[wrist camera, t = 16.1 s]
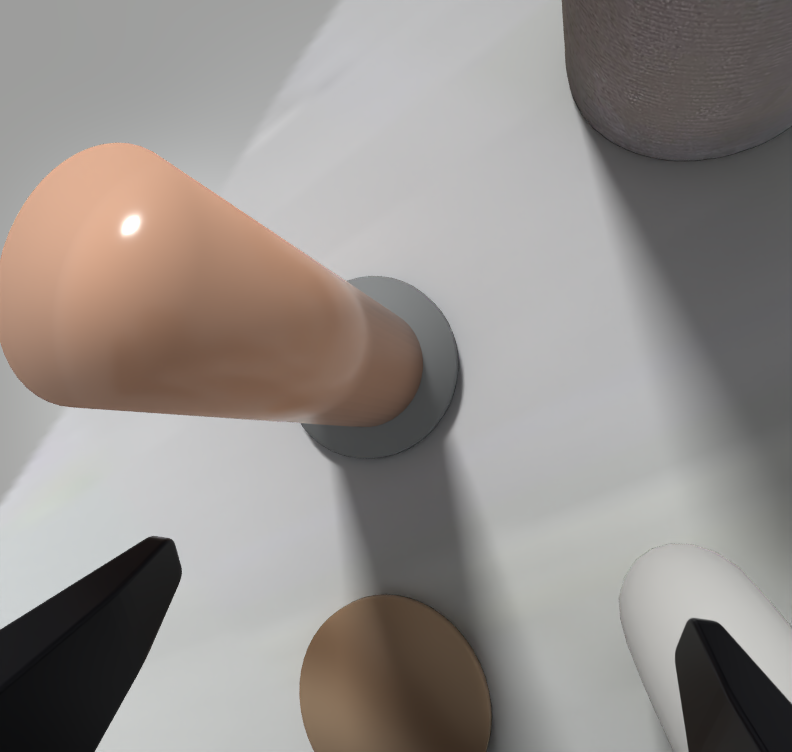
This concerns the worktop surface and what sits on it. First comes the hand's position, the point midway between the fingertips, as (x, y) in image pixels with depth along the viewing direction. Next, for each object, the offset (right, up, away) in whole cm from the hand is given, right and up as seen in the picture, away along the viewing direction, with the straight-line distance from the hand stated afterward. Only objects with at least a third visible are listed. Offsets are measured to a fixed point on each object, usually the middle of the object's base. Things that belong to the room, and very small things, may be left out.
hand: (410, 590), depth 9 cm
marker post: (-2, +4, +13) cm, 13 cm away
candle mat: (-1, +4, +13) cm, 14 cm away
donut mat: (0, -9, +11) cm, 14 cm away
